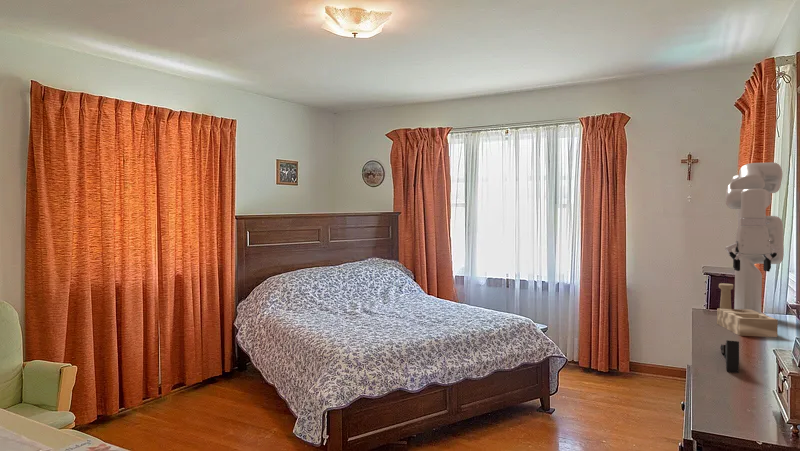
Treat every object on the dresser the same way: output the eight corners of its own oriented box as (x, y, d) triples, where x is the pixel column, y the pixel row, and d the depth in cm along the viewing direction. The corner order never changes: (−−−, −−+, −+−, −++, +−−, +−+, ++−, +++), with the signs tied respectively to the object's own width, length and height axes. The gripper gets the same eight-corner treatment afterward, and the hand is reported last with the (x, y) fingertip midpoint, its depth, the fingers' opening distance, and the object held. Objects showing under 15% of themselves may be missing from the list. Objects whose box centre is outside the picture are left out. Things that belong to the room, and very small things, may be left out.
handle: (733, 321, 215) (734, 284, 215) (731, 324, 210) (732, 285, 210) (719, 320, 218) (720, 283, 218) (717, 322, 213) (717, 284, 213)
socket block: (716, 323, 211) (717, 308, 211) (750, 325, 209) (751, 309, 209) (739, 335, 191) (739, 318, 191) (777, 337, 189) (777, 319, 189)
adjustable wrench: (729, 369, 167) (739, 373, 145) (719, 368, 168) (727, 372, 146) (729, 341, 168) (738, 341, 146) (719, 340, 170) (727, 340, 148)
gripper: (774, 223, 197) (773, 270, 198) (722, 222, 200) (721, 269, 201) (785, 223, 190) (783, 272, 190) (730, 223, 193) (729, 271, 193)
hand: (751, 270), depth 196 cm, fingers open, 9 cm apart
